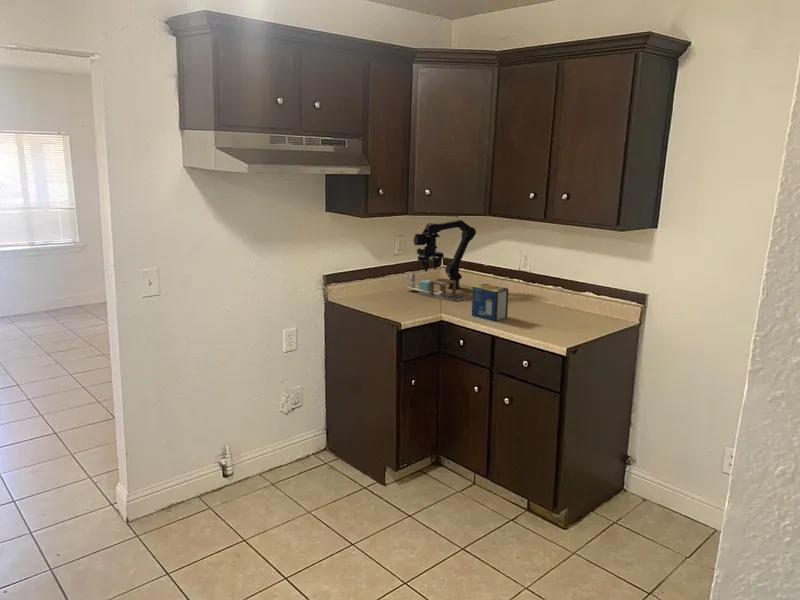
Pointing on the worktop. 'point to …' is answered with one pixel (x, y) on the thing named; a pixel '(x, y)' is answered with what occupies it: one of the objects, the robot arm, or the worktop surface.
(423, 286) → the teal block
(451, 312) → the worktop surface
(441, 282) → the tunnel
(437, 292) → the sled
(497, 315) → the protein box
